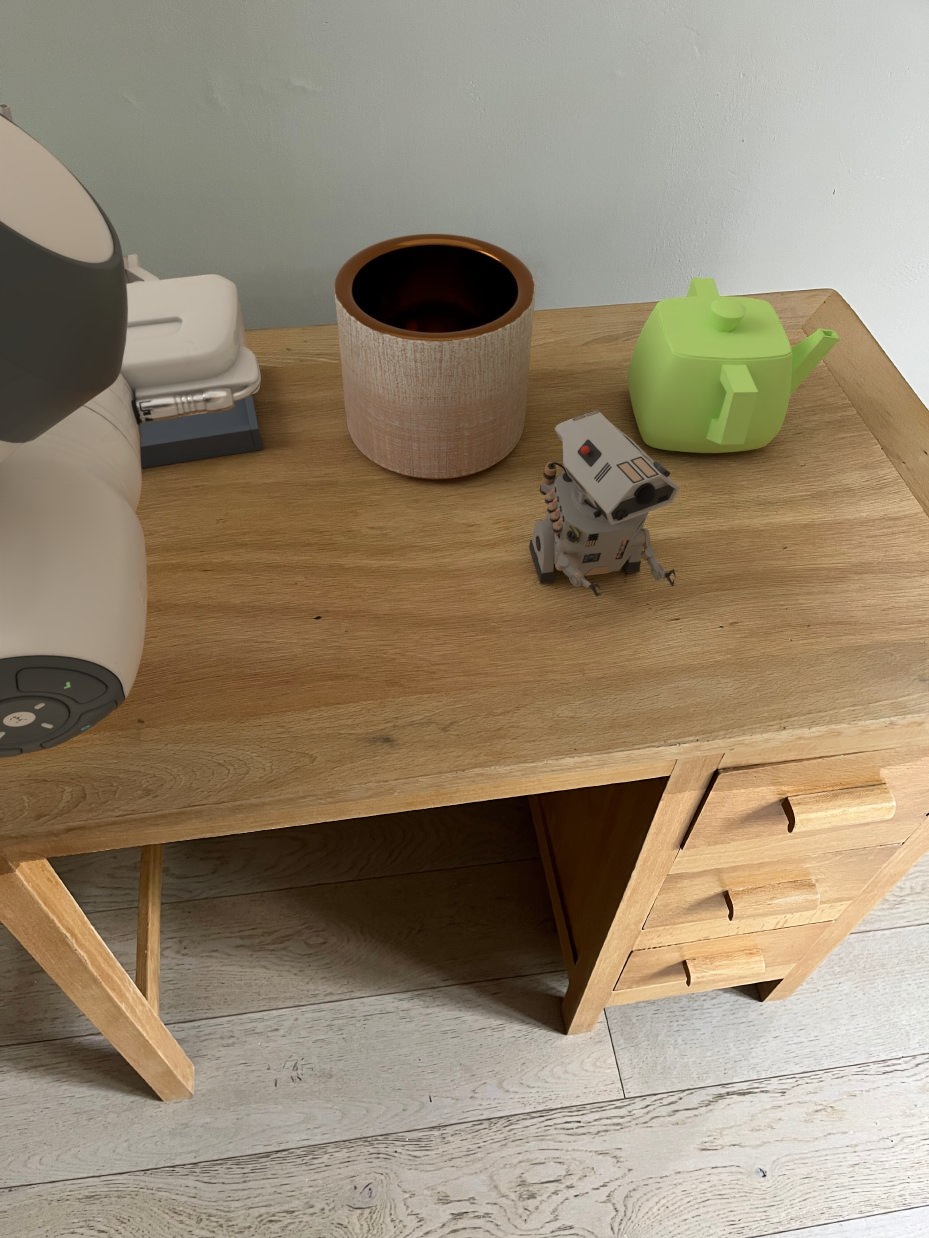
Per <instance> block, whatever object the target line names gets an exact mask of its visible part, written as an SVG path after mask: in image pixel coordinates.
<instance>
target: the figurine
mask: <svg viewBox="0 0 929 1238" xmlns="http://www.w3.org/2000/svg"><path fill="white" fill-rule="evenodd" d="M554 431H555V433H556V435H557V438H558V439H559V440H560V441H561V442H562V463H559V462H556V461H554V462H553V461H548V462H546V463H545V467H544V470H543V475H542V480H541V484H540V486H539V493H540V494H541V495H542V496H544V503H545V504H546V506H547V508H546V512H547V514H546V517H545V519H540V520H536V521H535V523H534V527H533V532H532V539H530V540H529V545H528V549H529V552H530V556H531V558H532V562H533V565H534V567H535V572H536V574H537V578H538V582H539V583H540V584H547V583H554V582H555V570H554V567H555V569H556V570H557V571H559V572H562V573H563V574H564V575H565V576H566V577H568V579H569V582H570V583H571V584H572V585H573V586H574V587H577V588H579V587H581V586H583V587H585V588H587V589H588V588H589V589H590V590H591V591H592V592H593V594H594V595H595V597H599V596H602V595H604V593H603V592H602V593H601V592H600V593H598V591H597V588H598V589H599V591H602V589H601V586H600V584H599V583H598V582H595V583H591V582H590V581H589V580H587V579H586V577H587V576H595V575H603V574H610V573H611V572H619V571H621V569H622V568H623V569H624V572H625V574H632V573H640V572H641V565H642V562H641V559H642V560H643V561H646V562H647V566H648V567H649V568H650V573H651V575H652V577H653V579H654V580H655V581H656V582H658V583H660V582H661V580H662V579H663V580H665V579H666V580H667V581H668V583H669V585H670V586H671V587H674V586H675V579H676V578H677V575H676V571H675V568H673V569H671V570H670V571H666V570H665V568H664V566H662V564H661V563H660V562H659V561H658V558H657V556H655V555H656V550H655V548H654V547H652V546H651V545H650V542H651V534H650V532H649V529H647V528H644V525H645V522H646V520H647V517H648V515H649V512H652V511H655V510H658V509H660V508H663V507H666V506H668V505H670V504H673V502H674V500H675V498H676V496H677V494H678V492H679V491H680V487H679V486H678V484H676V483H675V481H674V480H672V478H670V475H671V471H669V470H668V469H667V468H665V467H664V466H663V465H661V463H659V462H657V461H654V460H653V459H652V458H651V457H650V456H649V455H648V454H647V453H646V452H645V451H644V450H643V449H642V448H641V447H640V446H639V445H638V443H636V442H635V441H634V440H633V439H632V438H631V437H629V436H628V435H627V434H626V433H624V432H623V431H622V430H620V429H619V428H618V427H616V426H615V425H614V424H613V423H612V422H611V421H609V419H607V417H605V416H604V415H603V414H602V413H601V411H599V410H598V409H597V410H593V411H591V412H587V413H584V414H582V415H579V416H578V415H577V416H575V417H573V418H569V419H567V420H564V421H563V422H560V423H558V424H556V426H555V427H554ZM558 467H560V468H561V469H562V470H563V471H562V472H561V473H560V474H559V475H558V476H557V470H558ZM672 574H673V577H674V578H675V579H674V578H673V579H672V578H671V576H672ZM596 587H597V588H596Z"/></svg>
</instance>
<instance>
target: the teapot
mask: <svg viewBox="0 0 929 1238" xmlns="http://www.w3.org/2000/svg"><path fill="white" fill-rule="evenodd" d="M839 341H840V337H839V335H838V333H837V332H836V330H835V329H827V328H820V327H818V328H817V329H816V330H815V332H813V333H812V334H810V335H809V336H807V337H805V338H804V339H803V340H801V341H799V342H798V343H797V344H795V345H794V346H792V345H791V343H790V340H789V337H788V334H787V333H786V330H785V327H784V326H783V324H782V322H781V320H780V318H779V316H778V314H777V312H776V310H775V308H774V307H773V306H772V304H771V303H770V302H769V301H767V300H763V299H759V298H754V297H753V298H752V297H744V296H727V295H720V294H719V290H718V288H717V284H716V282H715V279H714V277H692V278H691V280H690V284H689V288H688V290H687V294H686V296H677V297H669V298H664V299H662V300H660V301H658V302H657V303H656V305H655V306H654V307H653V309H652V311H651V313H650V314H649V316H648V318H647V320H646V322H645V323H644V325H643V327H642V329H641V331H640V333H639V334H638V338H637V340H636V342H635V345H634V348H633V350H632V354H631V358H630V361H629V364H628V370H627V384H628V393H629V397H630V402H631V403H630V404H631V408H632V411H633V415H634V419H635V422H636V426H637V429H638V431H639V434H640V437H641V438H642V439H641V440H643V442H644V443H645V444H646V445H647V446H649V447H651V448H654V449H659V450H663V451H664V450H665V451H671V452H681V453H683V452H684V453H695V454H722V453H724V454H725V453H735V452H746V451H752V450H758V449H761V448H764V447H766V446H767V445H768V444H769V443H770V442H772V440H773V439H775V438H776V436H777V435H778V434H779V432H780V431H781V429H782V427H783V424H784V422H785V419H786V415H787V411H788V406H789V404H790V403H789V402H790V397H791V395H792V394H793V393H794V392H795V391H796V390H797V389H798V387H800V386H801V384H802V383H803V382H804V381H805V380H806V379H807V377H808V376H809V375H810V374H811V373H812V372H813V371H814V370H815V368H816V367H817V366H818V365H819V364H820V363H821V362H822V360H823V359H824V358H825V357H826V356H827V355H828V354H829V353H830V351H831V350H832V349H833V348H834V347H835V346H836V344H838V342H839Z"/></svg>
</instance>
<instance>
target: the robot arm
mask: <svg viewBox="0 0 929 1238" xmlns="http://www.w3.org/2000/svg"><path fill="white" fill-rule="evenodd" d="M261 382H262V374H261V368H260V364H259V360H258V358H257V357H256V355H255V353H254V352H253V351H252V350H251V349H249V348H248V343H247V335H246V330H245V324H244V317H243V312H242V307H241V302H240V297H239V293H238V288H237V285H236V284H235V283H234V282H233V281H232V280H230V279H227V278H226V277H224V276H221V275H219V274H215V273H210V274H209V273H207V274H201V275H192V276H183V277H176V278H175V277H174V278H173V277H172V278H165V279H160V278H159V277H157V276H156V275H154V274H152V273H151V272H149V271H148V270H146V269H144V268H142V265H141V262H140V257H139V255H138V254H137V253H134V254H124V255H123V250H122V244H121V241H120V238H119V235H118V233H117V231H116V229H115V227H114V225H113V224H112V221H111V219H110V218H109V216H108V215H107V214H106V212H105V211H104V209H103V207H102V206H101V205H100V203H99V202H98V201H97V200H96V198H95V197H94V195H92V193H91V192H90V190H88V188H87V187H86V186H85V185H84V184H83V183H82V182H81V180H79V179H78V177H77V176H75V174H73V172H72V171H71V170H70V169H69V168H68V167H67V166H66V165H65V164H64V163H62V162H61V161H60V160H59V158H57V157H56V156H55V155H54V154H53V153H52V152H51V151H49V150H48V149H47V148H46V147H45V146H44V145H43V144H42V143H40V142H39V141H38V140H37V139H35V138H34V137H33V136H31V134H29V133H28V132H27V131H26V130H24V129H23V128H22V127H20V126H19V124H16V123H15V122H14V121H13V122H12V121H11V120H9V119H8V118H7V117H5V116H4V115H3V114H1V113H0V759H1V758H12V757H18V756H20V755H24V754H29V753H34V752H38V751H42V750H46V749H52V748H55V747H58V746H60V745H63V744H64V743H66V742H68V741H71V740H72V739H74V738H76V737H78V736H80V735H81V734H83V733H85V732H87V731H88V730H90V729H91V728H93V727H94V726H96V725H97V724H99V723H100V722H102V721H103V720H104V719H105V718H107V717H108V716H110V714H112V713H113V712H114V711H115V710H116V709H118V708H119V707H120V706H121V705H122V704H123V703H124V702H125V701H126V699H127V697H128V696H129V694H130V692H131V690H132V689H133V685H134V683H135V680H136V678H137V675H138V672H139V669H140V665H141V661H142V656H143V651H144V647H145V646H144V645H145V639H146V638H145V637H146V629H147V628H146V627H147V614H148V570H147V551H146V550H147V549H146V539H145V533H144V531H143V527H142V525H141V522H140V519H139V517H138V515H137V513H136V512H137V509H138V506H139V503H140V499H141V495H142V487H143V473H142V471H143V470H142V469H141V457H140V434H139V425H140V423H145V422H153V421H160V420H167V419H174V418H178V417H182V416H189V415H196V414H203V413H217V412H223V411H226V410H229V409H232V408H234V402H235V401H239V400H242V399H244V398H246V397H248V396H250V395H251V394H253V395H254V394H256V393H258V392H259V390H260V387H261V384H262V383H261Z"/></svg>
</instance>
